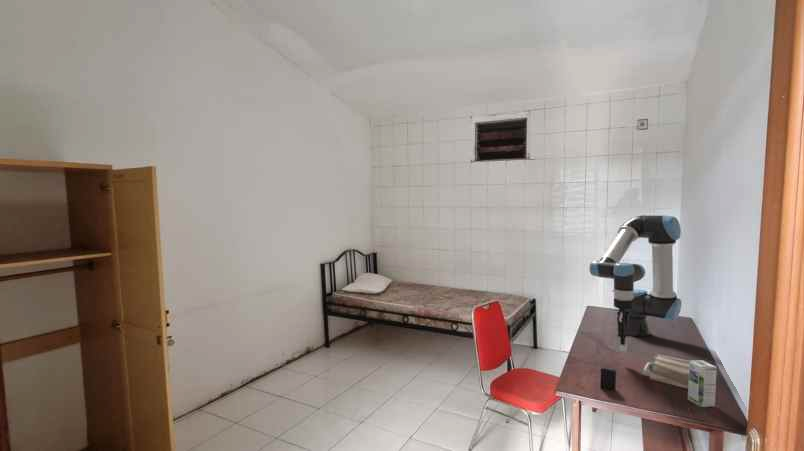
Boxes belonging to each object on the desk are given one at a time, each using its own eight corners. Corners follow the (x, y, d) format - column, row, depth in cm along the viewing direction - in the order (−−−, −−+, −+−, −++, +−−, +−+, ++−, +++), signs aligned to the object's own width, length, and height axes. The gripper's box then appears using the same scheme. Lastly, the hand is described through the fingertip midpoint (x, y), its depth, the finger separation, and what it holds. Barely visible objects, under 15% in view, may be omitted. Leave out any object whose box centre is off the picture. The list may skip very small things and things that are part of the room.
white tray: (647, 367, 168) (647, 362, 168) (687, 376, 159) (687, 371, 159) (643, 375, 160) (643, 370, 160) (684, 385, 151) (684, 379, 151)
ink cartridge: (615, 389, 148) (616, 369, 148) (614, 391, 147) (615, 371, 146) (601, 385, 151) (602, 365, 151) (600, 387, 150) (601, 367, 149)
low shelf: (655, 366, 168) (656, 353, 168) (696, 375, 159) (696, 362, 159) (649, 379, 156) (650, 365, 156) (692, 389, 147) (693, 375, 147)
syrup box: (686, 399, 140) (688, 360, 139) (702, 398, 141) (703, 359, 140) (700, 407, 135) (701, 367, 134) (716, 406, 135) (717, 366, 134)
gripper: (617, 294, 176) (616, 344, 178) (610, 300, 166) (610, 353, 168) (636, 296, 171) (635, 348, 173) (630, 303, 161) (629, 358, 163)
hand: (623, 350), depth 171 cm, fingers closed
